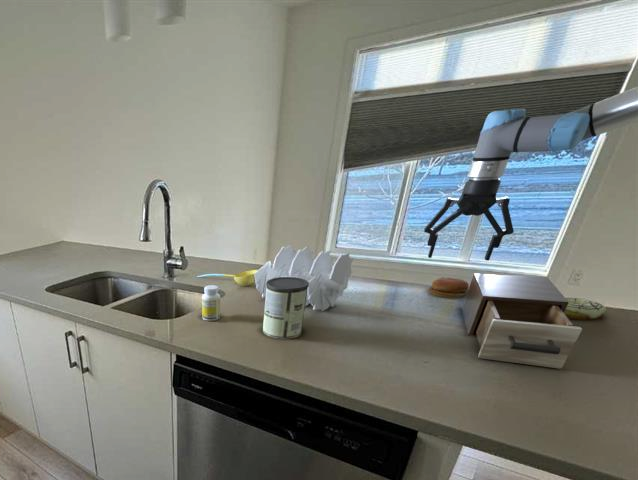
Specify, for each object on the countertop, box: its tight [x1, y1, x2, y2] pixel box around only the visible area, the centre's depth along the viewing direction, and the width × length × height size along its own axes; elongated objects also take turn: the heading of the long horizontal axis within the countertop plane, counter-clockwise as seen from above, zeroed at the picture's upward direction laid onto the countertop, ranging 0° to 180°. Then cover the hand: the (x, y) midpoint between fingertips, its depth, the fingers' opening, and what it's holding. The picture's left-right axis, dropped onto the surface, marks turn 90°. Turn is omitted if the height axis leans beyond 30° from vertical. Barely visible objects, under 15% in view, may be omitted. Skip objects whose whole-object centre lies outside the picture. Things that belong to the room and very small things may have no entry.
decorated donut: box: [564, 296, 607, 321], centre depth 104 cm, size 10×11×4 cm
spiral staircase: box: [254, 244, 354, 311], centre depth 123 cm, size 18×18×25 cm
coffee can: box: [262, 277, 309, 339], centre depth 107 cm, size 10×10×14 cm
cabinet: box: [461, 273, 569, 337], centre depth 100 cm, size 20×15×11 cm
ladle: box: [197, 269, 259, 287], centre depth 154 cm, size 9×26×6 cm, turn 44°
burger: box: [428, 276, 470, 299], centre depth 123 cm, size 10×9×5 cm
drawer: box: [475, 299, 583, 370], centre depth 88 cm, size 24×13×9 cm, turn 149°
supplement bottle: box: [201, 284, 221, 322], centre depth 122 cm, size 5×5×10 cm
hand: (457, 258), depth 119 cm, fingers open, 13 cm apart
